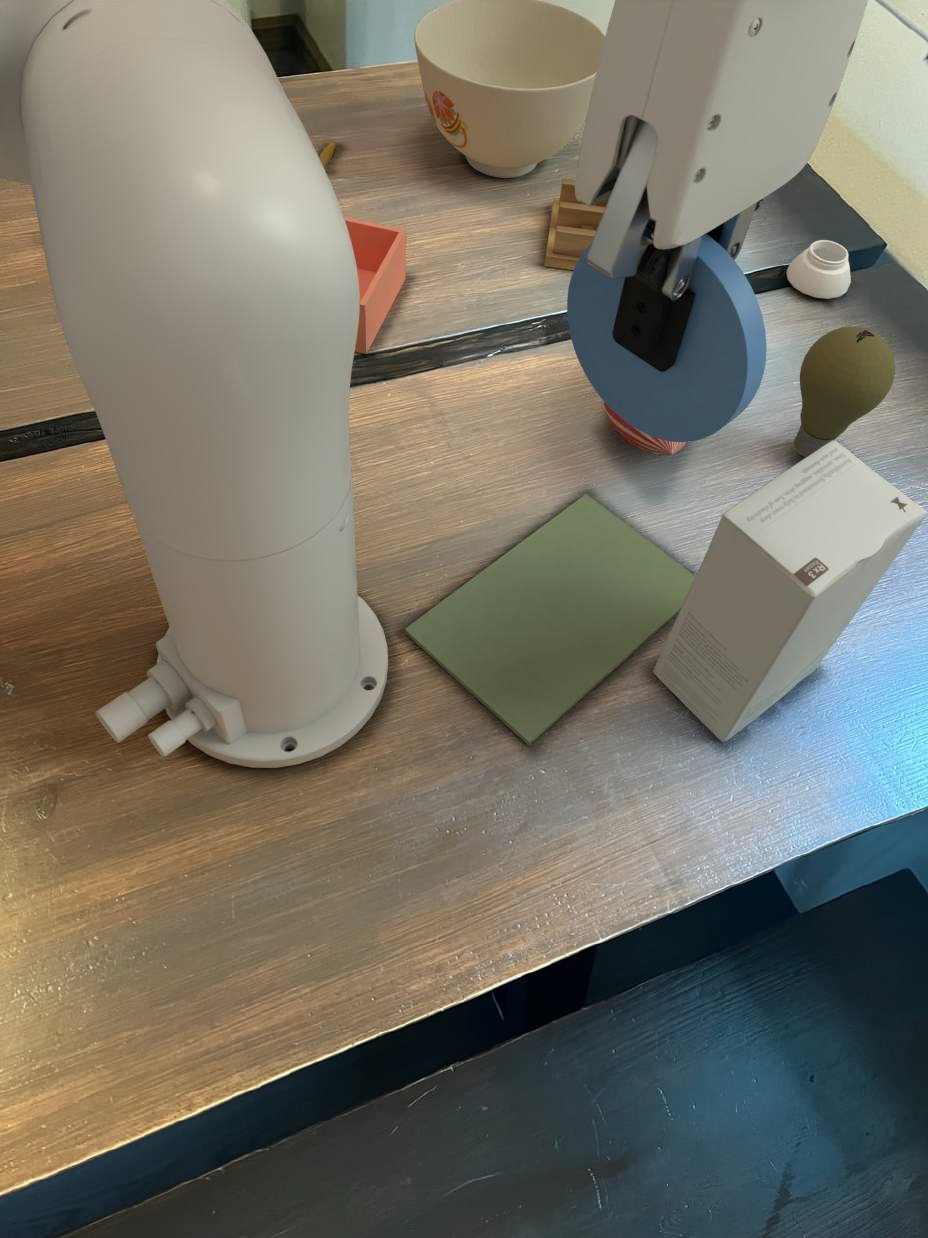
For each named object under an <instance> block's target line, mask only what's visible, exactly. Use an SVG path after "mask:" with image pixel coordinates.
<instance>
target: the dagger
mask: <svg viewBox="0 0 928 1238" xmlns="http://www.w3.org/2000/svg"><path fill="white" fill-rule="evenodd" d="M336 148H337V143H336V142H335V141H334V140H330V141H329V142H328V145H325V147H324V148H323V150H322V151H321V153H320V154H319V155H318V157H319V159H320V161H321V163H322V165H323V167H324V169H325V168H326V167H327V165H328V164H329V162H330V160H331V159H332V157H333V155H334V153H335V149H336ZM325 171H326V174H329V171H328V170H326V169H325Z"/></svg>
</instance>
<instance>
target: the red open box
mask: <svg viewBox="0 0 928 1238" xmlns="http://www.w3.org/2000/svg"><path fill="white" fill-rule="evenodd" d="M344 219H345V222H346V225H347V228H348V232H349V236H350V239H351V243H352V247H353V251H354V256H355V261H356V266H357V273H358V281H359V294H360V309H359V324H358V332H357V339H356V346H355V352H354V353H360V354H364V355H367V354H368V352H369V350H370V348H371V347H372V345H373V343H374V341H375V339H376V337H377V336H378V335H377V334H378V333H379V331H380V329H381V327H382V325H383V323H384V322H385V319H386V317H387V315H388V314H389V311H390V310H391V308H392V306H393V304H394V302H395V300H396V299H397V296H398V294H399V292H400V290H401V289H402V287H403V285H404V283H405V281H406V279H407V277H406V276H407V275H406V274H407V229H403V228H398V227H393V226H389V225H385V224H380V223H375V222H372V221H368V220H367V221H366V220H362V219H357V218H353V217H348V216H344Z"/></svg>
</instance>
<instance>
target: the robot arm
mask: <svg viewBox="0 0 928 1238" xmlns="http://www.w3.org/2000/svg"><path fill="white" fill-rule="evenodd" d="M868 2H869V0H614V2H613V7H612V11H611V13H610V17H609V21H608V24H607V28H606V32H605V35H606V36H605V40H604V44H603V48H602V52H601V57H600V61H599V65H598V69H597V73H596V78H595V82H594V86H593V90H592V94H591V99H590V104H589V108H588V113H587V117H586V119H585V121H584V128H583V133H582V138H581V143H580V148H579V153H578V159H577V166H576V171H575V179H574V180H575V196H576V199H577V201H579V202H580V203H582V204H584V205H588V206H589V207H590V206H592V205H593V204H597V203H600V202H602V201H604V200H606V199H608V198H609V201H608V203H607V206H606V208H605V211H604V213H603V216H602V218H601V221H600V223H599V226H598V228H597V231H596V234H595V236H594V239H593V241H592V244H591V246H590V249H589V251H588V254H587V262H588V264H590V265H591V266H593V267H595V268H596V269H598V270H599V271H601V272H603V273H604V274H606V275H607V276H609V277H611V278H613V279H617V278H624V277H625V280H624V284H623V288H622V293H621V297H620V301H619V306H618V310H617V315H616V319H615V323H614V328H613V332H612V335H613V339H614V340H615V342H616V343H617V344H619V345H620V346H622V347H623V348H625V349H626V350H628V351H630V352H631V353H633V354H634V355H636V356H637V357H639V358H640V359H642V360H643V361H645V362H646V363H648V364H649V365H651V366H652V367H654V368H655V369H657V370H658V371H660V372H665V371H667V370H668V369H669V368H671V367H672V366H674V364H675V361H676V358H677V354H678V351H679V348H680V344H681V341H682V338H683V335H684V331H685V328H686V325H687V321H688V318H689V315H690V311H691V308H692V305H693V302H694V298H695V295H696V294H695V293H694V292H692V291H690V290H689V289H687V288H688V286H689V283H690V280H691V277H692V273H693V269H694V266H695V262H696V258H697V254H698V251H699V247H700V243H701V239H702V236H703V235H704V234H707V235H708V236H710V237H711V238H712V239H713V240H715V241H716V242H717V243H718V244H719V245H720V246H722V247H723V248H724V249H725V250H726V252H727V253H728V254H729V255H730V256H731V257H732V258H733V259H734V261H736V259H737V258H738V256H739V255H740V253H741V250H742V248H743V245H744V242H745V238H746V236H747V233H748V230H749V228H750V225H751V222H752V219H753V216H754V213H755V212H757V210H758V209H759V208H760V207H761V205H760V203H761V202H763V201H764V198H766V197H767V196H769V195H771V194H773V192H775V191H777V190H778V189H780V188H781V187H783V186H784V185H786V184H787V183H788V182H790V181H792V179H794V178H795V177H796V176H797V175H798V174H799V173H800V172H801V171H802V170H803V169H804V167H805V166H806V165H807V164H808V163H809V161H810V159H811V157H812V156H813V154H814V151H815V150H816V148H817V146H818V143H819V141H820V139H821V137H822V134H823V132H824V130H825V128H826V124H827V122H828V120H829V118H830V115H831V112H832V109H833V107H834V105H835V102H836V99H837V96H838V93H839V91H840V88H841V85H842V82H843V79H844V76H845V74H846V71H847V68H848V65H849V62H850V59H851V55H852V52H853V50H854V47H855V44H856V40H857V38H858V34H859V31H860V28H861V25H862V21H863V18H864V15H865V12H866V9H867V6H868ZM325 170H326V169H325V168H324V167H323V165H322V163H321V161H320V159H319V155H318V152H317V151H316V148H315V147H314V144H313V142H312V139H311V138H310V136H309V134H308V132H307V130H306V128H305V126H304V124H303V123H302V120H301V119H300V117H299V115H298V113H297V111H296V110H295V108H294V106H293V104H292V102H291V101H290V100H289V98H288V96H287V94H286V92H285V90H284V88H283V86H282V84H281V81H280V80H279V77H278V75H277V74H276V71H275V69H274V67H273V65H272V63H271V61H270V58H269V57H268V55H267V53H266V51H265V50H264V48H263V46H262V45H261V43H260V42H259V40H258V38H257V36H256V35H255V34H254V32H253V30H252V28H251V27H250V26H249V25H248V24H247V22H246V21H245V20H244V18H243V17H242V16H241V15H240V13H239V12H238V11H237V10H236V9H235V7H233V5H232V4H231V3H229V1H228V0H0V178H1V179H6V180H9V181H13V182H17V183H21V184H25V185H29V186H31V192H32V196H33V197H32V198H33V201H34V206H35V212H36V216H37V222H38V223H37V224H38V227H39V232H40V233H39V234H40V238H41V244H42V249H43V254H44V259H45V263H46V268H47V273H48V278H49V282H50V287H51V291H52V295H53V299H54V303H55V307H56V311H57V314H58V318H59V322H60V325H61V329H62V332H63V335H64V337H65V341H66V344H67V346H68V349H69V352H70V354H71V358H72V360H73V363H74V365H75V368H76V370H77V373H78V375H79V377H80V380H81V383H82V385H83V387H84V389H85V391H86V393H87V396H88V398H89V400H90V403H91V405H92V407H93V410H94V412H95V414H96V417H97V419H98V422H99V425H100V427H101V430H102V433H103V435H104V438H105V441H106V444H107V448H108V450H109V453H110V455H111V458H112V461H113V462H112V463H113V464H114V468H115V471H116V474H117V477H118V480H119V482H120V485H121V488H122V492H123V494H124V497H125V500H126V503H127V507H128V509H129V511H130V513H131V514H132V517H133V520H134V524H135V526H136V530H137V531H138V536H139V539H140V542H141V544H142V548H143V550H144V553H145V557H146V559H147V560H146V561H147V563H148V566H149V569H150V573H151V575H152V578H153V581H154V584H155V587H156V590H157V593H158V597H159V600H160V603H161V605H162V608H163V611H164V612H163V613H164V614H165V616H166V620H167V623H168V626H169V627H168V629H167V631H166V633H165V635H164V636H163V637H161V638H160V639H159V640H157V641H156V642H155V647H156V650H157V653H158V656H157V659H156V664H155V665H154V666H152V667H151V668H149V669H147V671H146V676H147V679H145V680H144V681H143V682H141V683H139V684H138V685H137V686H135V687H133V688H132V689H130V690H129V691H124V692H122V693H121V694H120V695H119V696H116V698H113V700H111V701H109V702H108V703H106V704H105V705H103V706H102V707H100V708H99V709H97V710H96V711H95V716H96V717H97V719H98V721H99V722H100V723H101V725H102V726H103V728H104V729H105V730H106V731H107V733H108V735H110V737H111V738H112V739H113V740H114V741H115V742H116V743H121V741H124V740H125V739H126V738H128V737H130V736H131V735H132V734H133V733H135V732H136V731H138V730H139V729H141V728H142V727H144V726H145V725H146V724H148V723H149V720H150V719H152V718H153V717H155V716H156V715H158V714H159V713H161V712H162V711H163V710H165V712H166V715H167V716H168V718H169V719H170V720H166V722H164V723H163V724H161V725H160V726H158V727H156V728H155V729H154V730H153V731H151V732H150V733H148V734H147V738H148V740H149V741H150V743H151V744H152V746H153V747H154V749H155V750H156V751H157V752H158V753H159V754H160V755H161V756H162V757H163V758H165V757H167V756H168V755H170V754H171V753H173V752H174V751H176V750H177V749H178V748H179V747H181V746H183V745H184V744H185V743H186V741H188V742H189V743H190V745H192V746H194V747H195V748H197V749H199V750H200V751H202V752H203V753H205V754H206V755H208V756H210V757H212V758H215V759H217V760H220V761H223V762H225V763H227V764H231V765H235V766H241V767H248V768H251V769H253V768H256V769H257V768H258V769H263V768H264V769H265V768H266V769H277V768H284V767H291V766H298V765H301V764H303V763H307V762H310V761H313V760H316V759H319V758H321V757H323V756H325V755H327V754H328V753H330V752H332V751H334V750H336V749H338V748H340V747H341V746H342V745H345V743H346V742H348V741H349V740H350V739H351V738H353V737H354V736H355V735H357V734H358V733H359V731H360V730H361V729H362V728H363V727H364V726H365V725H366V724H367V723H368V721H369V720H370V719H371V718H372V716H373V714H374V713H375V712H376V710H377V708H378V706H379V704H380V702H381V700H382V698H383V694H384V691H385V690H386V689H385V688H386V686H387V683H388V670H389V650H388V649H389V647H388V644H387V640H386V636H385V631H384V628H383V626H382V625H381V623H380V620H379V619H378V617H377V615H376V613H375V612H374V611H373V609H372V608H371V607H370V605H369V604H367V603H368V602H366V601H365V599H363V598H362V597H361V596H359V594H358V573H357V571H358V570H357V553H356V551H357V549H356V531H355V530H356V529H355V527H356V526H355V508H354V507H355V506H354V505H355V504H354V485H353V470H352V459H351V433H350V401H351V400H350V395H351V380H352V371H353V365H354V364H353V363H354V357H355V353H356V352H355V346H356V339H357V332H358V324H359V309H360V294H359V281H358V273H357V266H356V261H355V256H354V251H353V247H352V243H351V239H350V236H349V232H348V228H347V225H346V222H345V219H344V217H345V216H344V214H343V211H342V208H341V205H340V202H339V199H338V198H337V195H336V192H335V190H334V187H333V184H332V183H331V180H330V178H329V176H328V173H326V171H327V170H326V171H325ZM652 238H653V241H652ZM670 248H672V249H671V253H670V254H669V253H668V252H667V250H666V249H670ZM290 749H291V751H287V750H290Z"/></svg>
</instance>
